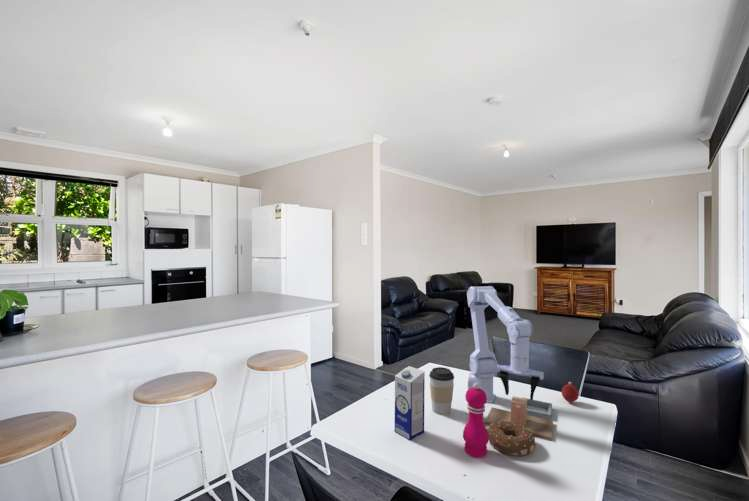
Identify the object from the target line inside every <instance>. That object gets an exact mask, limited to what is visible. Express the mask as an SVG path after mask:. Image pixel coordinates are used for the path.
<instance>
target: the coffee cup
mask: <svg viewBox="0 0 749 501" xmlns="http://www.w3.org/2000/svg"><path fill="white" fill-rule="evenodd" d="M428 376H429V387H430V388H429V389H430V390H429V391H430V400H431V411H432V412H433V413H434V414H437V415H441V416H447V415H449V414H451V412H452V401H453V396H454V395H453V394H454V384H455V383H454V379H455V376H454V373H453V372H452V371H451V369H449V368H447V367H441V366H439V367H438V366H437V367H433V368H432V370H431V371H430V372H429V374H428Z"/></svg>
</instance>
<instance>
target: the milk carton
mask: <svg viewBox="0 0 749 501" xmlns="http://www.w3.org/2000/svg"><path fill="white" fill-rule="evenodd" d="M425 372H426V371H424V370H422V369H420V368H416V367H414V366H410V365H408V366H407V367H405V368H403V369H402V370H401V371H399V372H398V373H396V374H395V375H394V432H395V433H396V434H398V435H399V436H402V437H403V438H405V439H407V440H408V441H411V440H413V439H415V438H417V437H420V436H421V435H423V434H425V387H426V386H425V384H426V383H425V378H426V377H425V374H426V373H425Z"/></svg>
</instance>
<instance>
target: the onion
mask: <svg viewBox="0 0 749 501" xmlns="http://www.w3.org/2000/svg"><path fill="white" fill-rule="evenodd" d="M561 395H562V398H563V399H564V400H565V401H567V402H568V403H569V404H571V403H574V402H576V401H577V400H578V399H579V396H580V394H579V390H578V389H577V387H576V386H575V385H573V382H572V381H569V382H568V383H567V384H564V385H563V387H561Z"/></svg>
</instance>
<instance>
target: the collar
mask: <svg viewBox="0 0 749 501" xmlns="http://www.w3.org/2000/svg"><path fill="white" fill-rule="evenodd" d="M523 398H524V399H527V406H528V405H529V406H532V407H533V406H534V407H539V408H543V409H547V412H545V411H539V410H534V409H531V408H530V409H529V408H527V415H529V416H533V417H538V418H542V419H547V420H551V421H552V413H553V411H552V410H553V403H551V402H547V401H541V400H537V399H533V400H530V398H528V397H527V398H526V397H523Z"/></svg>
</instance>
